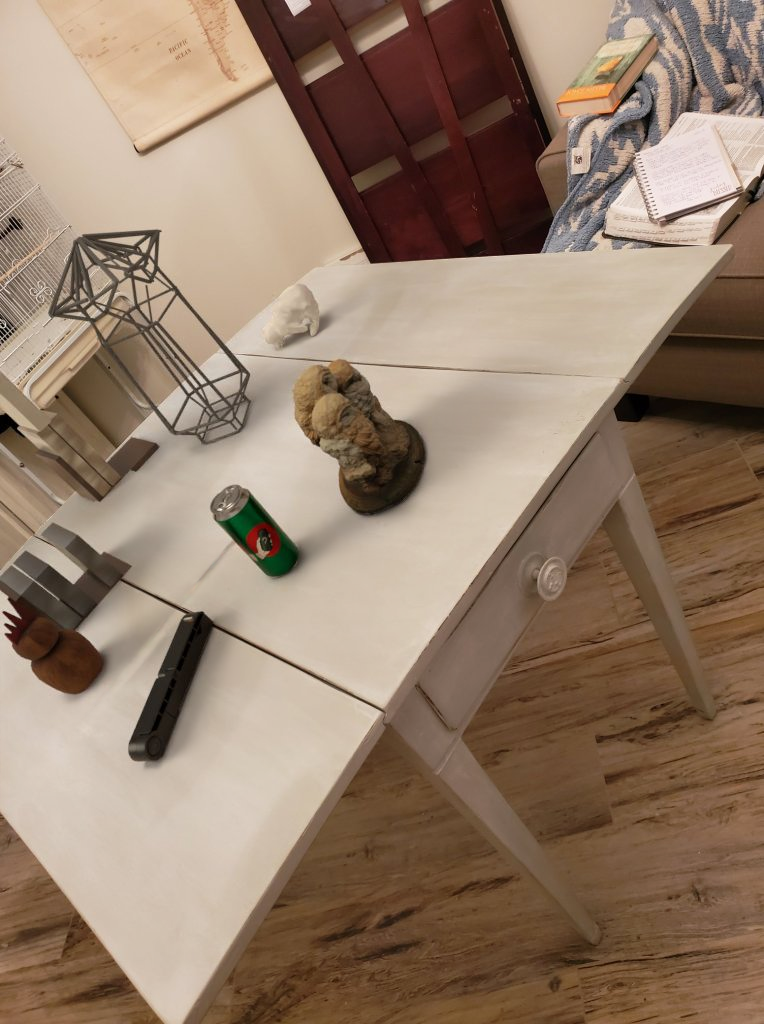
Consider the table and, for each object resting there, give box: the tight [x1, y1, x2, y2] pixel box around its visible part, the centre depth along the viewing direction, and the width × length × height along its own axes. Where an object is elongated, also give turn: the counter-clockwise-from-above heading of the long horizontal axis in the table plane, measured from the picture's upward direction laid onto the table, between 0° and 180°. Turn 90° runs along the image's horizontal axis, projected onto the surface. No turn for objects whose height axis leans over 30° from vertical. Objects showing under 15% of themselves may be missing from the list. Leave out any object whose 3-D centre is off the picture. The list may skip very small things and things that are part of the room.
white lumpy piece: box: [261, 282, 320, 348], centre depth 127 cm, size 6×8×12 cm
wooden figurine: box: [1, 597, 105, 695], centre depth 86 cm, size 7×6×15 cm
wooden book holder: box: [16, 409, 160, 503], centre depth 122 cm, size 14×10×16 cm
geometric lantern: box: [47, 228, 252, 445], centre depth 110 cm, size 16×16×35 cm
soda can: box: [209, 484, 300, 578], centre depth 84 cm, size 5×5×12 cm
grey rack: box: [0, 522, 133, 631], centre depth 101 cm, size 13×10×10 cm
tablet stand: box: [127, 610, 214, 763], centre depth 80 cm, size 18×3×3 cm, turn 168°
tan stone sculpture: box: [292, 358, 426, 515], centre depth 86 cm, size 18×12×17 cm, turn 5°
